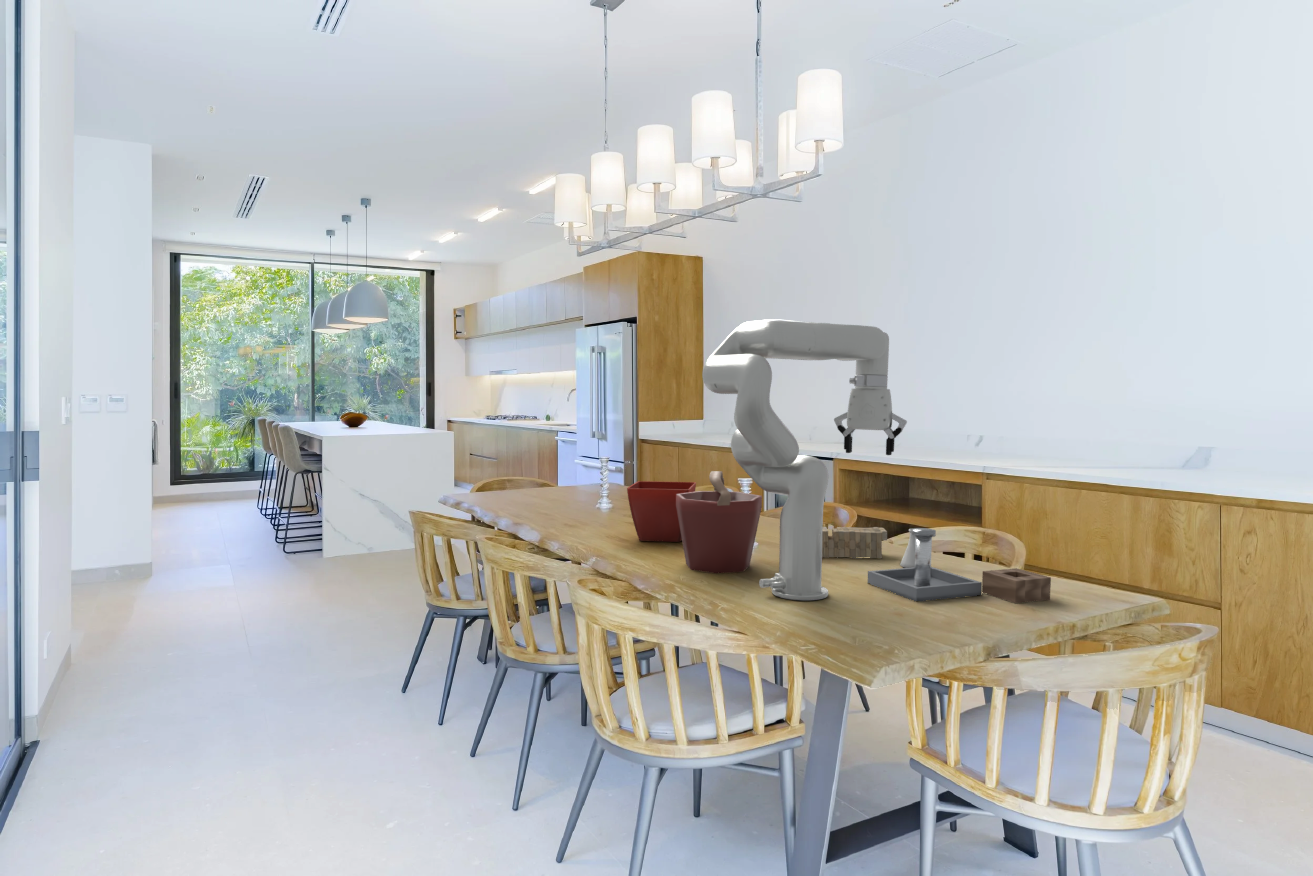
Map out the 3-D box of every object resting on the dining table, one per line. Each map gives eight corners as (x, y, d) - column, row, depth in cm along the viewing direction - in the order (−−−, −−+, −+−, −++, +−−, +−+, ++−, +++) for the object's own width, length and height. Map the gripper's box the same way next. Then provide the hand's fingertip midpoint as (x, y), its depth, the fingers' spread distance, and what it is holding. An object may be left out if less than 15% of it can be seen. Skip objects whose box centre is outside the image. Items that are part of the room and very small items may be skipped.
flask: (929, 570, 209) (931, 532, 208) (900, 569, 211) (901, 531, 210) (927, 564, 216) (928, 527, 215) (898, 563, 218) (899, 526, 217)
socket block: (1015, 603, 177) (1015, 580, 176) (981, 592, 186) (982, 571, 186) (1050, 599, 180) (1050, 577, 180) (1015, 589, 189) (1016, 568, 189)
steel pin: (920, 589, 185) (922, 532, 185) (905, 584, 190) (907, 528, 189) (938, 587, 187) (940, 531, 186) (924, 582, 192) (925, 527, 191)
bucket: (746, 580, 197) (747, 478, 195) (660, 572, 204) (661, 474, 202) (765, 560, 220) (767, 469, 218) (688, 554, 227) (689, 466, 225)
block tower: (781, 560, 226) (887, 560, 222) (780, 530, 225) (887, 529, 222) (779, 554, 234) (883, 554, 230) (779, 525, 233) (882, 525, 230)
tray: (916, 601, 177) (916, 588, 177) (867, 583, 194) (867, 571, 194) (981, 595, 183) (981, 582, 183) (928, 578, 200) (929, 566, 200)
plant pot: (625, 542, 243) (626, 487, 243) (637, 532, 262) (638, 480, 261) (688, 545, 240) (689, 489, 239) (695, 534, 259) (696, 482, 258)
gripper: (831, 382, 195) (829, 452, 196) (904, 383, 187) (901, 456, 188) (840, 383, 202) (837, 451, 202) (911, 384, 194) (908, 455, 194)
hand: (868, 453), depth 195 cm, fingers open, 9 cm apart
